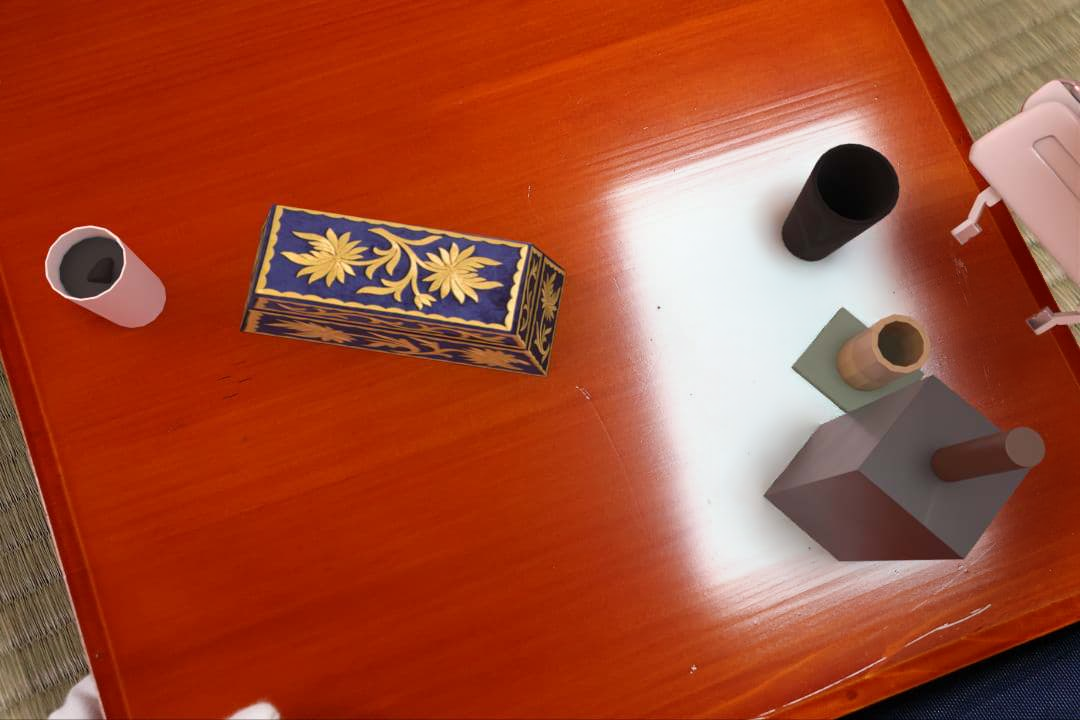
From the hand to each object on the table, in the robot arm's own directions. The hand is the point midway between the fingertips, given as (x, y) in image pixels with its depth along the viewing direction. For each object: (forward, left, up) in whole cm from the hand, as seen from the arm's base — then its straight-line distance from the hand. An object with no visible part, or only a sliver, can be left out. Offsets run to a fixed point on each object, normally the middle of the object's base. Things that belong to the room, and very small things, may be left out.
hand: (993, 282), depth 72 cm
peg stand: (-3, +19, -13) cm, 23 cm away
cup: (+14, 0, -13) cm, 19 cm away
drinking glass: (+58, +49, -13) cm, 77 cm away
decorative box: (+39, +32, -13) cm, 52 cm away
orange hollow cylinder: (+2, +7, -13) cm, 15 cm away
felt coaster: (+2, +8, -13) cm, 16 cm away
